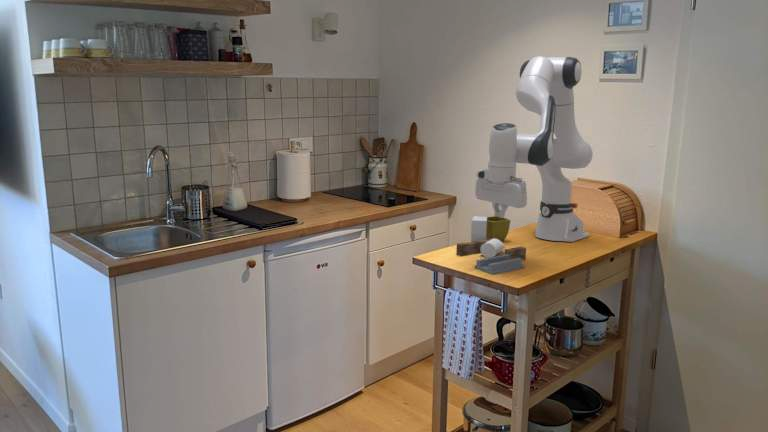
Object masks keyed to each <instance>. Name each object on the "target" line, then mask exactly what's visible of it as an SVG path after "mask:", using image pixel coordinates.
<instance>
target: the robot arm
mask: <svg viewBox="0 0 768 432" xmlns="http://www.w3.org/2000/svg"><path fill="white" fill-rule="evenodd" d="M581 78H582V63H581V62H580V61H579V59H578V58H577V57H573V56H572V57H571V56H566V57H565V56H564V57H561V56H558V57H557V56H550V57H547V56H540V55H538V56H534V57H532V58H531V59H529V60H526V61H524V62H523V64H522V65H521V67H520V70H519V80H518V83H517V86H516V91H515V96H516V99H517V101H518V103H519V104H520V105H521V106H522V107H523V108H524V109H526V110H527V111H529V112H533V113H535V114H538V115H539V116H540V121H539V122H540V124H539V131H538V132H537V133H519V132H518V131H517V130H518V129H517V125H516V124H515V123H508V122H507V123H506V122H504V123H497V124H494V125H493V126H492V127H491V132H490V137H489V145H488V154H489V161H488V164H487V165H488V166H487V168H485V169H482V170H478V171H476V178H477V180H476V182H475V191H474V192H475V198H476V199H477V200H480V201H485V202H488V203H491V204H492V205H491V206H492V210H493V211H494V215H493V216H495V217H499V218H506V216H505V215H506V212H507V210H508V208H509V207H511V208H515V209H522V208H525V207H526V206H527V202H528V196H527V183H526V182H525V180H524V179H523V178H522V177H517V176H516V175H517V164H526V165H527V164H529V165H531V166H533V165H534V166H535V168H537V170H538V172H539V175H540V178H541V185H542V186H541V188H542V189H541V201H540V203H539V210H540V212H539V214H538V218H537V224H536V229H535V230H534V233H535V236H534V237H536V238H538V239H541V240H547V241H554V242H555V241H556V242H567V243H568V242H571V243H573V242H577V241H580V240H581V239H585V238H587V237H590V233H588V232H586V231H584V221H582V219H581V218H580V217H579V216H577V214H576V213H574V209H578V205H579V204H578V203H574V202H572V190H573V189H572V188H573V185H572V182H571V180H570V179H569V178H568V177H566V176H565V175H564V173H563V171H562V168H563V169H571V170H575V169H577V170H578V169H585V168H586V167H588V166H589V164H591V161H592V159H593V149H592V147H591V145H590V144H589V143H588V142H587V141H585V139H584V138H583V137H582V136H581V134H580V132H579V130H578V128H577V125H576V124H577V123H576V118H575V94H574V87H575V86H577V85H578V84H579V83H580V80H581ZM554 136H555V138H554Z"/></svg>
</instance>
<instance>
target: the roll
mask: <svg viewBox="0 0 768 432" xmlns="http://www.w3.org/2000/svg"><path fill="white" fill-rule="evenodd" d="M505 246H506V245H505V243H504V242H501V241H500V240H498V239H495V238H494V239H491V240H490V241H487V242H486V243H485V244H483V245H482V246H481V248H480V251H481V253H480V254H481V255H482V256H483V257H484V258H489V257H495V256H498V254H500V253H501V252H502V251H503V250H505V249H506V247H505Z"/></svg>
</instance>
